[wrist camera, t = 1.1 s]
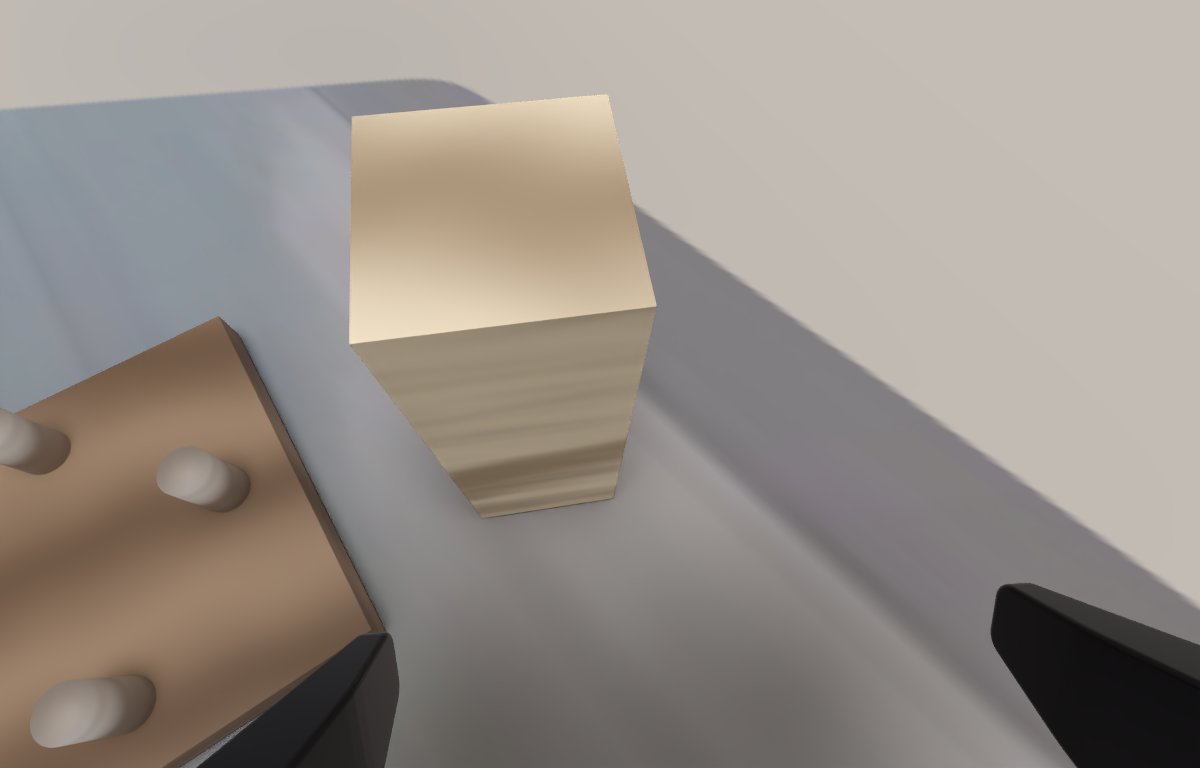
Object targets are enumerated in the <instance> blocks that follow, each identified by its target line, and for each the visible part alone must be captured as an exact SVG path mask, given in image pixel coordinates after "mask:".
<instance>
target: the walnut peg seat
mask: <svg viewBox="0 0 1200 768" xmlns="http://www.w3.org/2000/svg"><path fill="white" fill-rule="evenodd" d="M384 631H385V629H384V627H383V625H382V623H381V621H380V619H379V617H378V615H377V613H376V611H375V609H374V607H373V605H372V603H371V601H370V599H369V597H368V595H367V593H366V591H365V589H364V587H363V585H362V583H361V581H360V579H359V577H358V575H357V573H356V571H355V569H354V567H353V565H352V563H351V561H350V559H349V557H348V555H347V553H346V551H345V549H344V547H343V545H342V543H341V540H340V538H339V536H338V534H337V532H336V530H335V528H334V526H333V524H332V522H331V520H330V518H329V516H328V514H327V512H326V510H325V508H324V506H323V504H322V502H321V500H320V498H319V496H318V494H317V492H316V490H315V488H314V486H313V484H312V482H311V480H310V478H309V476H308V474H307V472H306V470H305V468H304V466H303V464H302V462H301V460H300V458H299V456H298V454H297V452H296V450H295V448H294V446H293V444H292V441H291V439H290V437H289V435H288V433H287V431H286V429H285V427H284V425H283V423H282V421H281V419H280V417H279V415H278V413H277V411H276V409H275V407H274V405H273V403H272V401H271V399H270V397H269V395H268V393H267V391H266V389H265V387H264V385H263V383H262V381H261V379H260V377H259V375H258V373H257V371H256V369H255V367H254V365H253V363H252V361H251V359H250V357H249V355H248V353H247V351H246V349H245V347H244V345H243V342H242V340H241V338H240V336H239V334H238V333H236V332H235V331H234V330H233V329H232V328H231V327H230V326H229V325H228V324H227V323H226V322H224V321H223V320H222V319H221V318H220V317H219V316H218V317H216V318H214V319H212V320H209V321H207V322H205V323H203V324H201V325H199V326H197V327H195V328H193V329H191V330H189V331H186V332H184V333H182V334H180V335H178V336H176V337H174V338H172V339H170V340H168V341H166V342H163V343H161V344H159V345H157V346H155V347H153V348H151V349H149V350H147V351H145V352H142V353H140V354H138V355H136V356H134V357H132V358H130V359H128V360H126V361H124V362H122V363H119V364H117V365H115V366H113V367H111V368H109V369H107V370H105V371H103V372H101V373H99V374H96V375H94V376H92V377H90V378H88V379H86V380H84V381H82V382H80V383H78V384H75V385H73V386H71V387H69V388H67V389H65V390H63V391H61V392H59V393H57V394H55V395H52V396H50V397H48V398H46V399H44V400H42V401H40V402H38V403H36V404H34V405H32V406H29V407H27V408H25V409H23V410H21V411H19V412H17V413H15V414H14V413H12V412H9V411H7V410H4V409H2V408H0V768H179V767H180V766H182V765H183V764H185V763H186V762H188V761H190V760H191V759H193V758H194V757H196V756H197V755H199V754H200V753H202V752H203V751H205V750H206V749H208V748H209V747H211V746H212V745H214V744H215V743H217V742H218V741H220V740H221V739H223V738H224V737H226V736H227V735H229V734H230V733H232V732H233V731H235V730H236V729H238V728H239V727H241V726H242V725H244V724H245V723H247V722H248V721H250V720H251V719H253V718H254V717H256V716H258V715H259V714H261V713H262V712H264V711H265V710H267V709H268V708H270V707H271V706H273V705H274V704H275V703H276V702H277V701H279V700H280V699H281V698H282V697H284V696H285V695H286V694H287V693H288V692H290V691H291V690H292V689H293V688H295V687H296V686H297V685H298V684H300V683H301V682H302V681H303V680H304V679H306V678H307V677H308V676H309V675H311V674H312V673H313V672H314V671H315V670H317V669H318V668H319V667H320V666H322V665H323V664H324V663H325V662H326V661H328V660H329V659H330V658H331V657H333V656H334V655H335V654H336V653H337V652H339V651H340V650H341V649H342V648H344V647H345V646H346V645H347V644H349V643H350V642H351V641H352V640H353V639H355V638H356V637H357V636H359V635H361V634H366V633H379V632H384Z"/></svg>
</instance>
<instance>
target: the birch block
mask: <svg viewBox="0 0 1200 768" xmlns="http://www.w3.org/2000/svg"><path fill="white" fill-rule="evenodd" d="M656 307H657V306H656V301H655V297H654V293H653V288H652V284H651V280H650V275H649V271H648V267H647V262H646V258H645V254H644V250H643V245H642V241H641V237H640V232H639V228H638V224H637V219H636V215H635V211H634V206H633V202H632V198H631V193H630V189H629V185H628V181H627V176H626V172H625V168H624V163H623V159H622V155H621V150H620V146H619V142H618V137H617V133H616V129H615V125H614V120H613V116H612V111H611V107H610V103H609V99H608V94H604V95H593V96H581V97H570V98H559V99H548V100H536V101H525V102H513V103H502V104H491V105H479V106H468V107H457V108H445V109H434V110H422V111H411V112H400V113H388V114H377V115H366V116H354V117H352V158H351V245H350V333H349V344H350V346H351V347H352V348H353V350H354V351H355V352H356V354H357V355H358V356H359V357H360V359H361V360H362V361H363V363H364V364H365V365H366V367H367V368H368V369H369V371H370V372H371V373H372V374H373V376H374V377H375V378H376V380H377V381H378V382H379V384H380V385H381V386H382V388H383V389H384V390H385V391H386V393H387V394H388V395H389V397H390V398H391V399H392V401H393V402H394V403H395V405H396V406H397V407H398V409H399V410H400V411H401V412H402V414H403V415H404V416H405V418H406V419H407V420H408V422H409V423H410V424H411V426H412V427H413V428H414V429H415V431H416V432H417V433H418V435H419V436H420V437H421V439H422V440H423V441H424V443H425V444H426V445H427V446H428V448H429V449H430V450H431V452H432V453H433V454H434V456H435V457H436V458H437V460H438V461H439V462H440V464H441V465H442V466H443V467H444V469H445V470H446V471H447V473H448V474H449V475H450V477H451V478H452V479H453V481H454V482H455V483H456V484H457V486H458V487H459V488H460V490H461V491H462V492H463V494H464V495H465V496H466V498H467V499H468V500H469V501H470V503H471V504H472V505H473V507H474V508H475V509H476V511H477V512H478V513H479V515H480V516H481V517H482V518H488V517H494V516H501V515H507V514H514V513H520V512H527V511H533V510H540V509H546V508H553V507H559V506H566V505H572V504H579V503H585V502H592V501H599V500H605V499H612V498H613V497H614V492H615V488H616V483H617V479H618V475H619V470H620V466H621V461H622V457H623V453H624V448H625V444H626V439H627V435H628V431H629V426H630V422H631V417H632V413H633V408H634V404H635V400H636V395H637V391H638V386H639V382H640V378H641V373H642V369H643V364H644V360H645V356H646V351H647V347H648V342H649V338H650V333H651V329H652V325H653V320H654V316H655V311H656Z"/></svg>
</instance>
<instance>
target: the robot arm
mask: <svg viewBox="0 0 1200 768" xmlns="http://www.w3.org/2000/svg"><path fill="white" fill-rule="evenodd" d="M991 638H992V642H993V645H994V647H995V649H996V651H997V652H998V654H999V655H1000V657H1001V658H1002V660H1003V661H1004V663H1005V664H1006V666H1007V667H1008V669H1009V670H1010V672H1011V673H1012V675H1013V676H1014V678H1015V679H1016V681H1017V682H1018V684H1019V685H1020V687H1021V688H1022V690H1023V691H1024V693H1025V694H1026V696H1027V697H1028V699H1029V700H1030V702H1031V703H1032V705H1033V706H1034V708H1035V709H1036V711H1037V712H1038V714H1039V715H1040V717H1041V718H1042V720H1043V721H1044V723H1045V724H1046V726H1047V727H1048V729H1049V730H1050V732H1051V733H1052V734H1053V736H1054V737H1055V739H1056V740H1057V742H1058V743H1059V744H1060V746H1061V747H1062V749H1063V750H1064V751H1065V753H1066V754H1067V755H1068V757H1069V758H1070V759H1071V761H1072V762H1073V763H1074V765H1075V766H1076V767H1077V768H1200V645H1198V644H1195V643H1193V642H1190V641H1187V640H1184V639H1182V638H1179V637H1176V636H1174V635H1171V634H1168V633H1165V632H1163V631H1160V630H1157V629H1155V628H1152V627H1149V626H1146V625H1144V624H1141V623H1138V622H1136V621H1133V620H1130V619H1127V618H1125V617H1122V616H1119V615H1116V614H1114V613H1111V612H1108V611H1106V610H1103V609H1100V608H1097V607H1095V606H1092V605H1089V604H1087V603H1084V602H1081V601H1078V600H1076V599H1073V598H1070V597H1068V596H1065V595H1062V594H1059V593H1057V592H1054V591H1051V590H1049V589H1046V588H1043V587H1040V586H1038V585H1035V584H1032V583H1017V584H1005V585H1003V586H1001V587H1000V588H999V589H998V591H997V594H996V599H995V606H994V612H993V618H992V624H991ZM398 697H399V676H398V670H397V663H396V657H395V650H394V643H393V639H392V637H391V635H390V634H389V633H387V632H379V633H366V634H361V635H359V636H357V637H356V638H355V639H353V640H352V641H351V642H350V643H349V644H347V645H346V646H345V647H344V648H342V649H341V650H340V651H339V652H337V653H336V654H335V655H334V656H333V657H331V658H330V659H329V660H328V661H326V662H325V663H324V664H323V665H322V666H320V667H319V668H318V669H317V670H315V671H314V672H313V673H312V674H311V675H309V676H308V677H307V678H306V679H304V680H303V681H302V682H301V683H300V684H298V685H297V686H296V687H295V688H293V689H292V690H291V691H290V692H288V693H287V694H286V695H285V696H284V697H282V698H281V699H280V700H279V701H277V702H276V703H275V704H274V705H273V706H271V707H270V708H269V709H268V710H266V711H265V712H264V713H263V714H262V715H260V716H259V717H258V718H257V719H255V720H254V721H253V722H252V723H251V724H249V725H248V726H247V727H246V728H244V729H243V730H242V731H241V732H239V733H238V734H237V735H236V736H235V737H233V738H232V739H231V740H230V741H228V742H227V743H226V744H225V745H224V746H222V747H221V748H220V749H219V750H217V751H216V752H215V753H214V754H213V755H211V756H210V757H209V758H208V759H206V760H205V761H204V762H203V763H202V764H200V765H199V766H198V767H197V768H384V767H385V762H386V757H387V752H388V747H389V742H390V737H391V732H392V727H393V722H394V717H395V712H396V707H397V702H398Z"/></svg>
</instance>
